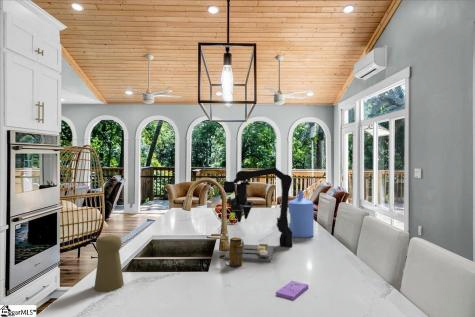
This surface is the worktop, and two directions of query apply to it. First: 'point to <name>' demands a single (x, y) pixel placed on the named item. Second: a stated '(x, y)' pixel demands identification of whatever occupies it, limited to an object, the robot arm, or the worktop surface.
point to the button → (263, 253)
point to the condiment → (235, 254)
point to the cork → (108, 264)
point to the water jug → (301, 217)
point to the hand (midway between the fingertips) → (242, 220)
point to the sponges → (292, 290)
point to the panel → (254, 254)
